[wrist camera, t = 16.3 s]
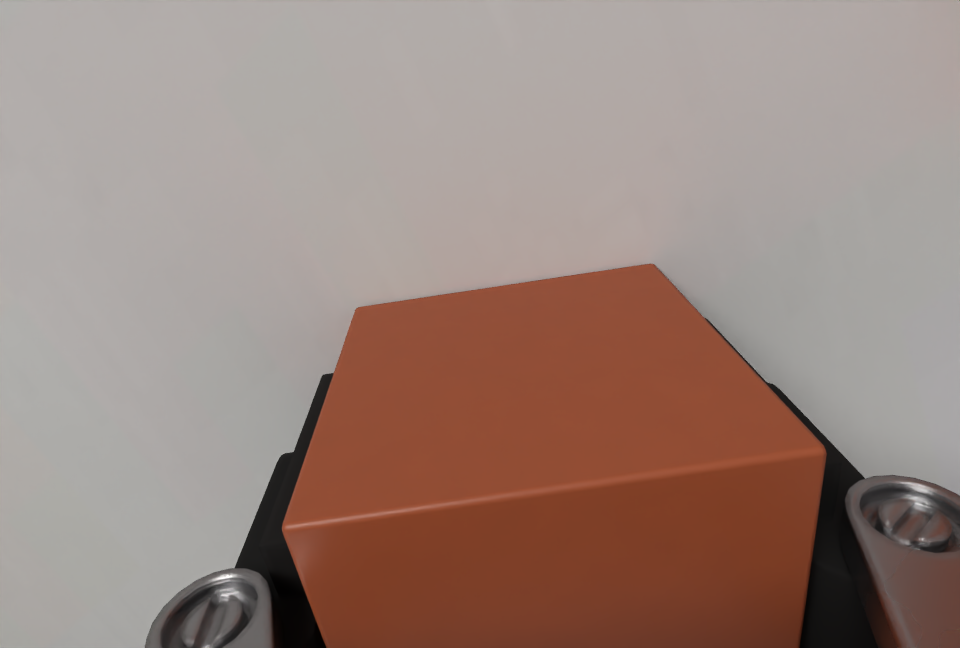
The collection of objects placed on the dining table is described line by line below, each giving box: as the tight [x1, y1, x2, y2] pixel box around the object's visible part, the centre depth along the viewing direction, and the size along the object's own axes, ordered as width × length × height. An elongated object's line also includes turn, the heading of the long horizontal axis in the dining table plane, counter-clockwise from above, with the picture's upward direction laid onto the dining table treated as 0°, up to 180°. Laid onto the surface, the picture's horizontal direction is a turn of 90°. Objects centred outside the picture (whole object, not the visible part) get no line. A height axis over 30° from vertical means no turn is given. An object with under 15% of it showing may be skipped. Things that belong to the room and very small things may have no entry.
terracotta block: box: [282, 264, 827, 648], centre depth 9 cm, size 5×5×5 cm
